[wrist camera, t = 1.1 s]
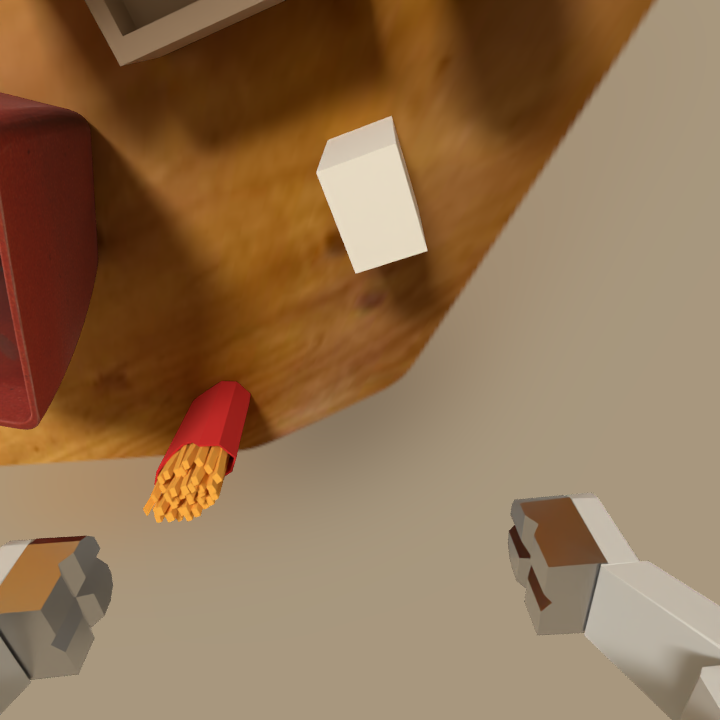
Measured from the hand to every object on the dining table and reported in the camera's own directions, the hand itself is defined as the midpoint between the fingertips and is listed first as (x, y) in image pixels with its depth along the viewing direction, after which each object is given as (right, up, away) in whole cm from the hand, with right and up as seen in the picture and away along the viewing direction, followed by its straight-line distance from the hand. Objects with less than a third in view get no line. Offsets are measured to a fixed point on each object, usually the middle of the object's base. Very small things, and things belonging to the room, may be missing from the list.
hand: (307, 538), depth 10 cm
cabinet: (+2, +18, +29) cm, 34 cm away
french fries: (-14, -1, +43) cm, 45 cm away
